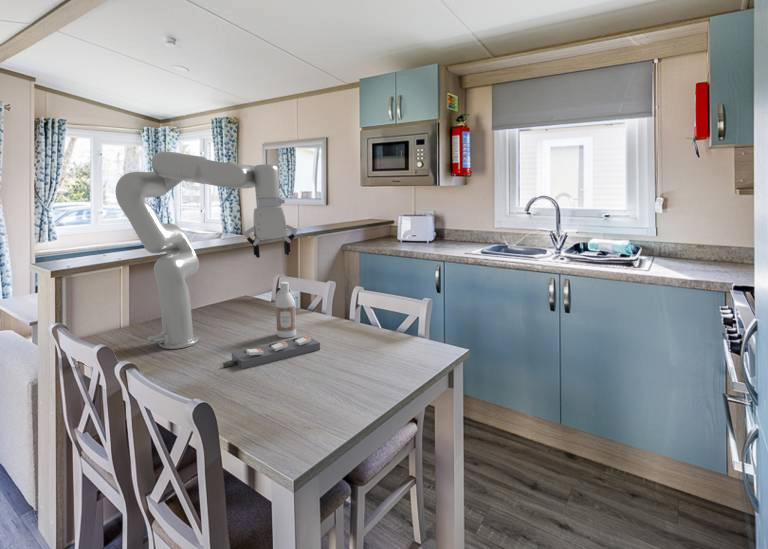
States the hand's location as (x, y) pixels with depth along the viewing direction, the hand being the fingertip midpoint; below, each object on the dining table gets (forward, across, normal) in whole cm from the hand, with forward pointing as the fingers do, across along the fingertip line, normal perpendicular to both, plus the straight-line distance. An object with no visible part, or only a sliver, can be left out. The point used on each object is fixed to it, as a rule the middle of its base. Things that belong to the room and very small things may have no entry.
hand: (272, 255), depth 151 cm
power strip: (+32, +4, +7) cm, 33 cm away
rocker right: (+29, -6, +8) cm, 31 cm away
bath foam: (+32, -5, -11) cm, 34 cm away
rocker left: (+28, +10, +11) cm, 32 cm away
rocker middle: (+29, +2, +9) cm, 30 cm away
